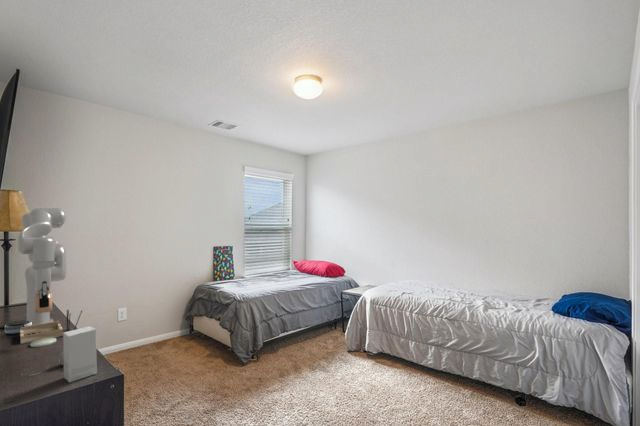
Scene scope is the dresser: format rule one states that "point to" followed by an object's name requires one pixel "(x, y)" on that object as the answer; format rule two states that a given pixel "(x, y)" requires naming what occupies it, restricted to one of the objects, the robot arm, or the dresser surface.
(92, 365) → the skincare box
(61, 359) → the reed diffuser
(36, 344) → the pale mint disc
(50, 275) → the robot arm
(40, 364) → the dresser surface
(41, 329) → the wooden frame
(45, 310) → the terracotta pot
